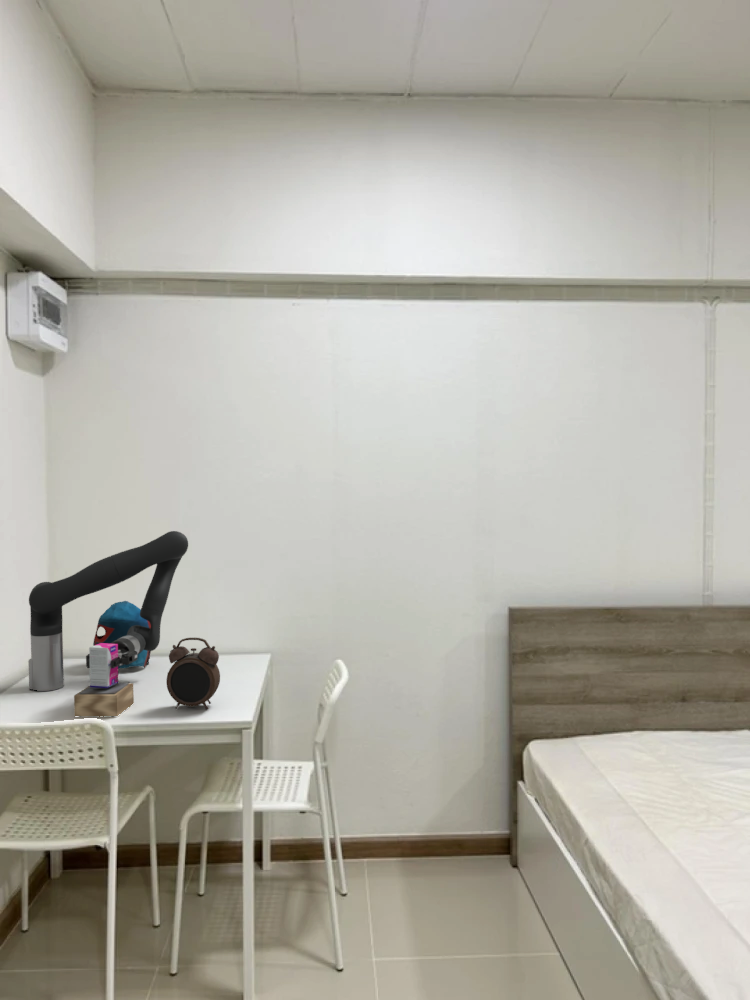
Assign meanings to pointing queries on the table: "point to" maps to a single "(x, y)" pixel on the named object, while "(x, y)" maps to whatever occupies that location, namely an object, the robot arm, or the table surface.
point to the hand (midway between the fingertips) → (100, 664)
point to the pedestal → (104, 700)
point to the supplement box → (103, 665)
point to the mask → (122, 627)
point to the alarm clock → (193, 674)
